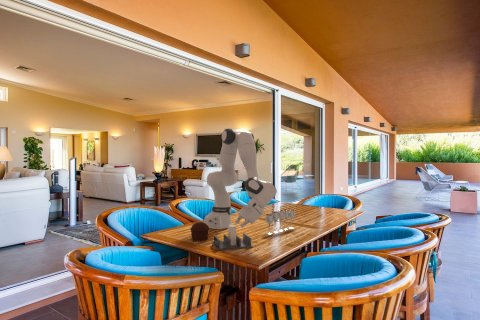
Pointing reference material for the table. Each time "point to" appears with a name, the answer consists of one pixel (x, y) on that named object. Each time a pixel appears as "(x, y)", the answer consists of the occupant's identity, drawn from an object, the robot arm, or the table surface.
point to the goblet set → (279, 214)
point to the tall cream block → (232, 234)
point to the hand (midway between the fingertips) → (238, 224)
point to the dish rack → (227, 245)
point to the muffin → (199, 231)
